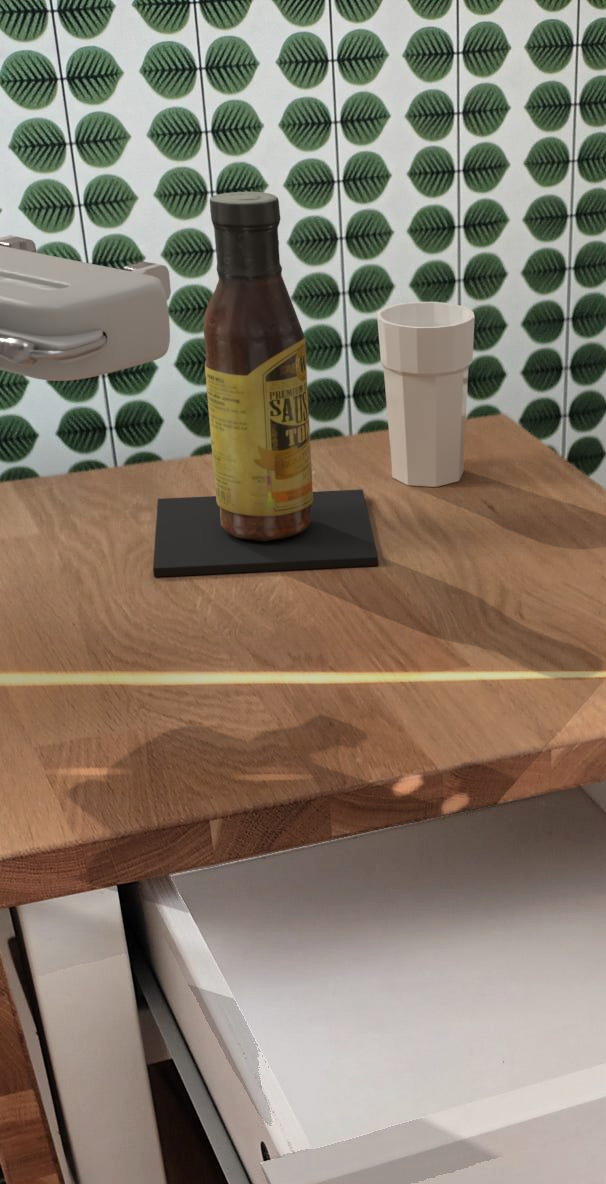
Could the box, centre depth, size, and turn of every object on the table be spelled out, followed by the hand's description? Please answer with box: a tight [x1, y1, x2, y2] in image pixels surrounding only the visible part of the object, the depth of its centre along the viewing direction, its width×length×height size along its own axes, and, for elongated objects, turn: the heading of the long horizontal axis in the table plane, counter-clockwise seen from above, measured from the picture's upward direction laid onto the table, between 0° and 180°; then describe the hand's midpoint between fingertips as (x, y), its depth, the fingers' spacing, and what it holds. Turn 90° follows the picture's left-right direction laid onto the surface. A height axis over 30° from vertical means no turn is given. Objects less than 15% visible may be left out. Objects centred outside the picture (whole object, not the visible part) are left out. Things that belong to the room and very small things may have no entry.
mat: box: [152, 489, 379, 578], centre depth 102 cm, size 14×12×1 cm
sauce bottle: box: [202, 191, 314, 541], centre depth 96 cm, size 6×6×20 cm
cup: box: [376, 301, 476, 488], centre depth 109 cm, size 7×7×11 cm
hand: (92, 266), depth 83 cm, fingers open, 8 cm apart
